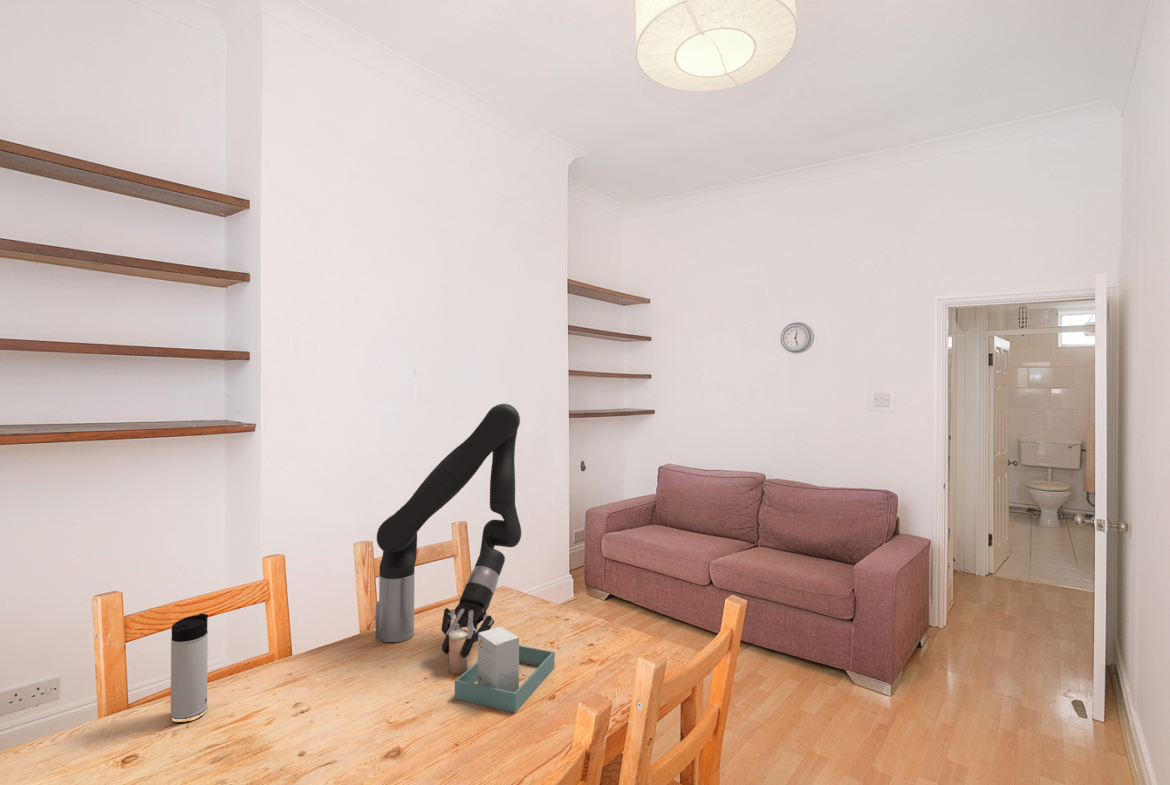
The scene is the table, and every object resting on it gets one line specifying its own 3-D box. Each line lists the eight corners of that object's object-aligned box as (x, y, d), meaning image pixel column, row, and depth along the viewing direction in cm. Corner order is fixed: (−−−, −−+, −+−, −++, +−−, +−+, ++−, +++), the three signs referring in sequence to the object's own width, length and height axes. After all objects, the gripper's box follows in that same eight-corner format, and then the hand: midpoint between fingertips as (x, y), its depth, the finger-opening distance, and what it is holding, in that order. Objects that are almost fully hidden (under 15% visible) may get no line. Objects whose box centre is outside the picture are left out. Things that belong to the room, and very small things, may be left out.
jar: (445, 672, 140) (445, 635, 139) (455, 664, 144) (455, 628, 144) (460, 675, 138) (461, 638, 138) (470, 667, 142) (471, 630, 142)
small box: (519, 695, 130) (520, 637, 130) (494, 704, 126) (495, 645, 126) (500, 680, 136) (501, 625, 136) (476, 689, 132) (477, 632, 132)
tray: (454, 698, 128) (454, 680, 128) (500, 657, 148) (500, 641, 148) (515, 712, 123) (515, 694, 123) (554, 667, 142) (554, 651, 142)
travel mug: (215, 709, 122) (216, 615, 122) (185, 726, 116) (185, 627, 116) (194, 703, 124) (195, 611, 124) (163, 720, 118) (163, 623, 118)
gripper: (450, 577, 150) (422, 643, 139) (499, 584, 145) (473, 653, 134) (461, 591, 155) (434, 655, 144) (509, 598, 150) (485, 666, 139)
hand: (453, 654), depth 139 cm, fingers closed on jar, 4 cm apart
